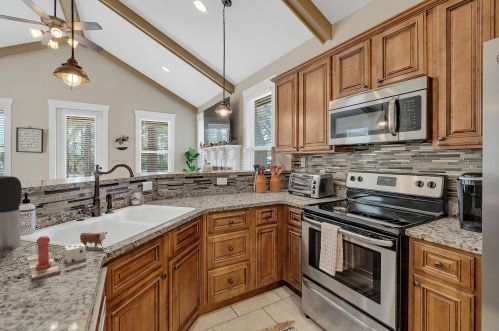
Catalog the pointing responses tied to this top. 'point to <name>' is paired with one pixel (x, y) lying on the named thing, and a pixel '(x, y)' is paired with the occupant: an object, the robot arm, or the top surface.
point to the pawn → (43, 253)
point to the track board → (43, 273)
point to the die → (75, 252)
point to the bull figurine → (92, 238)
